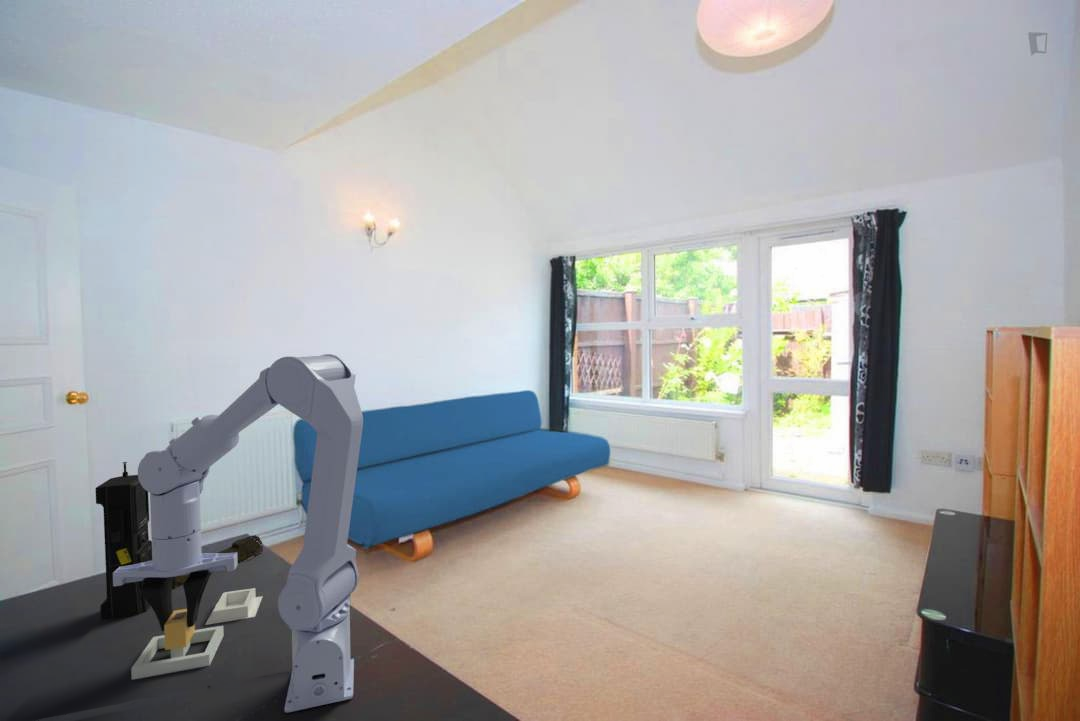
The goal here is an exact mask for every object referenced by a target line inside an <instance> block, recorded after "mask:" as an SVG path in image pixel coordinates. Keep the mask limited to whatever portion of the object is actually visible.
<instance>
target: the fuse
mask: <svg viewBox="0 0 1080 721" xmlns="http://www.w3.org/2000/svg"><path fill="white" fill-rule="evenodd" d="M172 612H173V613H172V615H171V616H170V618H169V619H168V620H167V622H166V623H165V625H164V631H163V633H164V635H165V648H164V651H169V650H170V658H176V657H182V656H186V654H187V653H188V651H189V648H190V647H191V644H190V639H191V637H192V636H193V634H194V632H195V630H196V625H195V624H196V623H195V624H194V626H192V627H188V625H187V608H183V609H182V608H181V609H176V610H173V611H172Z"/></svg>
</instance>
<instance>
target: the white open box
mask: <svg viewBox="0 0 1080 721" xmlns="http://www.w3.org/2000/svg"><path fill="white" fill-rule="evenodd" d="M263 597H264V595H261V596H256V587H253V588H248V589H246V588H245V589H239V590H232V591H225V592H223V593H222V595H220V598H219V600H218V602H217V603H216V604H215V606H214V608H213V609H212V611H211V613H210V615H209V617H208V619H207V621H206V623H205V626H207V625H208V626H209V625H212V624H213V625H215V624H219V623H220V624H221V623H225V622H226V623H227V622H232V621H239V620H245V619H252V618H256V615H257V613H258V610H259V607H260V605H261V603H262V599H263Z"/></svg>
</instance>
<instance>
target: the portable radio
mask: <svg viewBox="0 0 1080 721" xmlns="http://www.w3.org/2000/svg"><path fill="white" fill-rule="evenodd" d="M127 463H128V462H127V461H124V462H122V464H123V472H122V475H121V476H117V477H116V476H115V477H111V478H109V479H107V480H106V481H104V482H103V483H101V484H99V485H98V486H97V487H95V504H96V505H101V506H102V508H103V528H104V530H103V531H104V532H103V533H104V554H105V555H104V557H105V558H104V559H105V560H104V561H105V581H106V599H104V601H103V602H102V603H101V604H100V605H99V606H100V620H113V619H120V618H124V617H125V618H127V617H133V616H138V615H141V614H143V613H146V612H147V611H148V610H149V609H150V607H151V606H150V604H149V603H148V602H147V601H146V600H145V598H144V597H142V596H141V593H140V589H141V588H142V587H143V581H136V582H129V583H124V584H123V585H121V586H113V572H114V571H115V570H116V569H118V568H119V567H122V566H128V565H134V564H139V563H143V562H148V561H152V540H149V538H150V536H149V522H150V502H149V501H150V498H149V492H148V491H146V490H145V489H144V488H143V487H142V485H141V484H140V482H139V479H138V474H133V475H132V474H131V475H130V474H129V471H127Z"/></svg>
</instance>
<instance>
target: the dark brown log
mask: <svg viewBox="0 0 1080 721" xmlns="http://www.w3.org/2000/svg"><path fill="white" fill-rule="evenodd" d="M251 537H252V538H251ZM254 539H255V540H254ZM256 541H258V542H259V543H260V544H262V545H263V541H262V539H260V536H258V535H255V534H254V535H249V536H247V537H244V538H241V539H237V540H236V541H234V542H232V544H231V547H227V548H226V549H223V550H221V551H219V552H218V551H217V553H237V561H238V564H241V563H240V562H243V561H245V560H247V559H248V558H250V557H252V556H255V555H256V554H258V553H260V552H261V553H263V550H264V547H263V546H264V545H263V546H261V545H260V544H259V543H258V542H256ZM261 553H260V554H261ZM258 555H259V554H258ZM255 557H256V556H255ZM243 563H244V562H243ZM188 577H189V575H182V576H175V577H173V580H172V590H173V589H176V588H177V587H180V586H183V584H184V582H185V581H186V580H187V578H188Z"/></svg>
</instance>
